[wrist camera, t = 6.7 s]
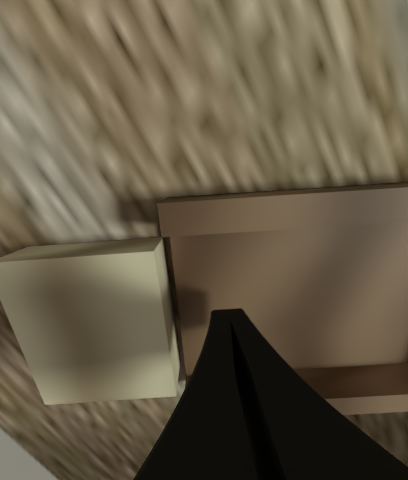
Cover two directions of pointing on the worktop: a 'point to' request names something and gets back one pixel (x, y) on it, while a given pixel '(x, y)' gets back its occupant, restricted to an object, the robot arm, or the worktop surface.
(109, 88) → the worktop surface
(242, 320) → the robot arm
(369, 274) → the walnut box
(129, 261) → the beige rectangular block
